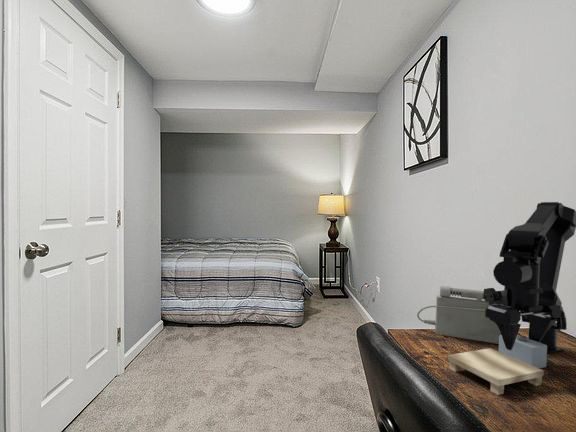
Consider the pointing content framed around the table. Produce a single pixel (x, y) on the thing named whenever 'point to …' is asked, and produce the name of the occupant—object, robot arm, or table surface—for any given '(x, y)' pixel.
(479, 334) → the geiger counter
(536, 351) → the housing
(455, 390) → the table surface
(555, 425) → the table surface
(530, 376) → the stand
